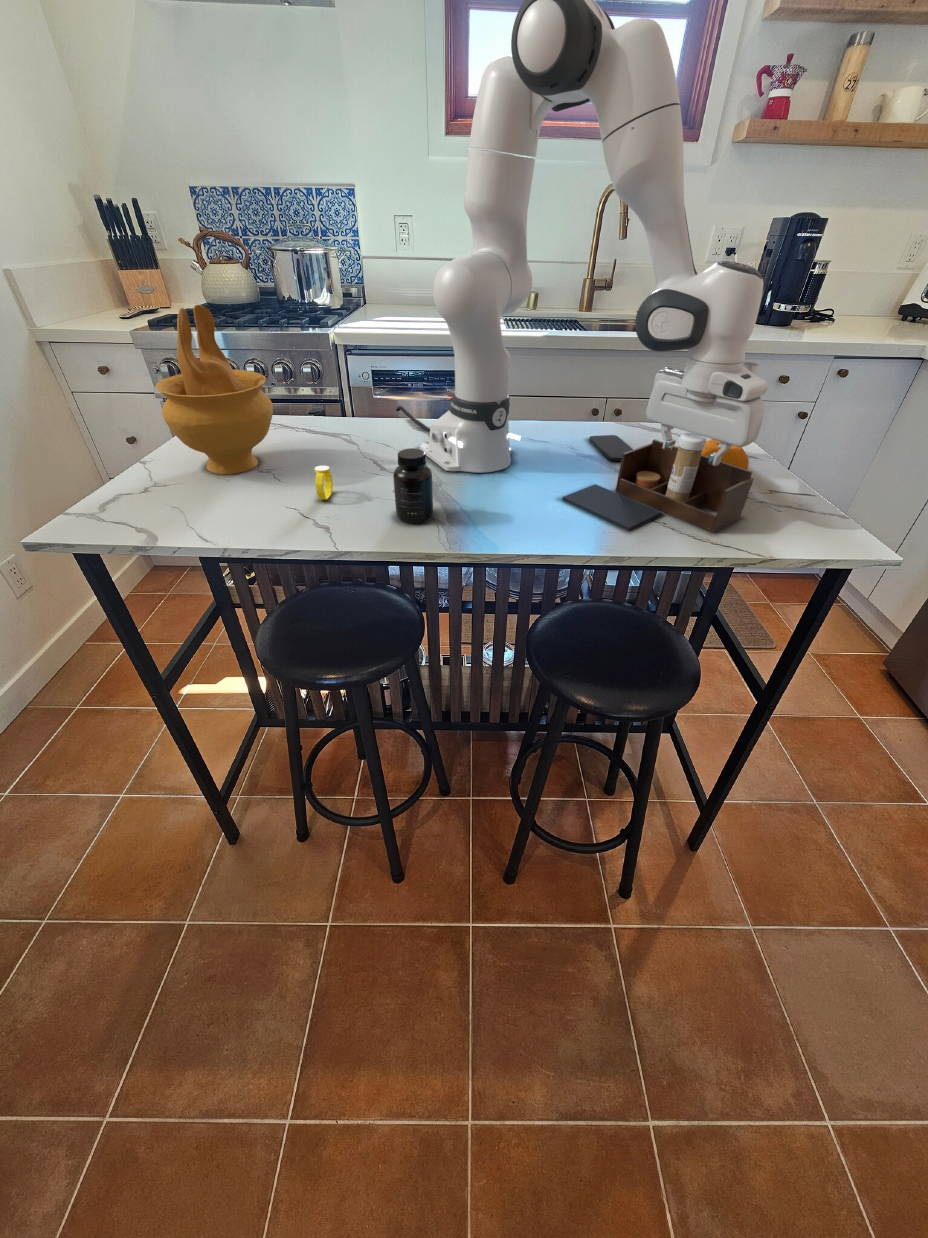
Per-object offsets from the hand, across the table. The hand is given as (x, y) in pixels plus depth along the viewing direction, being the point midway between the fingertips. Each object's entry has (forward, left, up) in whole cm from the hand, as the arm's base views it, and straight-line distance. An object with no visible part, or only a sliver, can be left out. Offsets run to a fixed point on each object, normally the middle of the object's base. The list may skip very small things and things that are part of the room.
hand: (689, 456), depth 101 cm
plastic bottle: (-8, +31, -10) cm, 33 cm away
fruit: (-1, +15, -10) cm, 18 cm away
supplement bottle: (-27, -43, -10) cm, 52 cm away
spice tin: (-7, 0, -10) cm, 12 cm away
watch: (-44, -52, -10) cm, 69 cm away
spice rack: (0, 0, -10) cm, 10 cm away
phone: (-26, +14, -10) cm, 31 cm away
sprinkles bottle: (0, 0, -10) cm, 10 cm away
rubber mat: (-7, -11, -10) cm, 16 cm away
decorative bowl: (-71, -60, -10) cm, 94 cm away
